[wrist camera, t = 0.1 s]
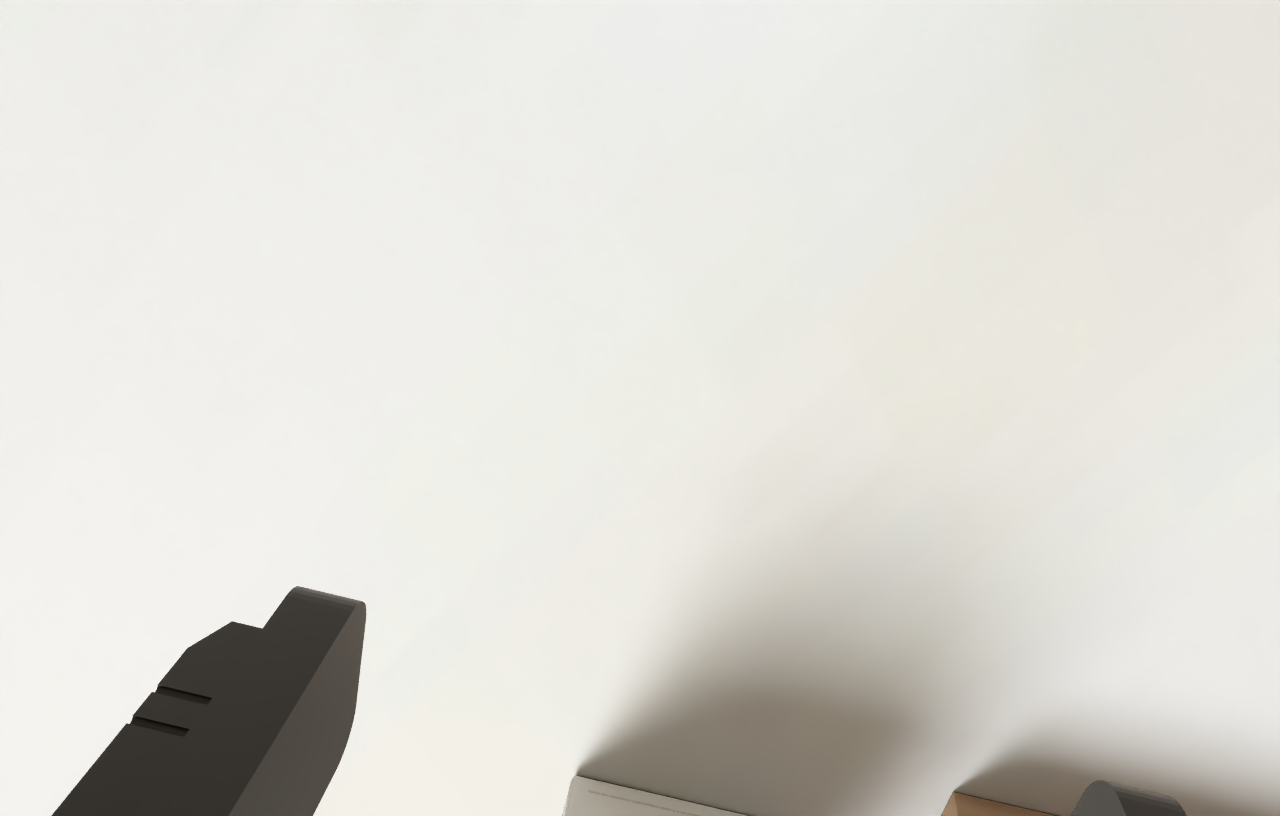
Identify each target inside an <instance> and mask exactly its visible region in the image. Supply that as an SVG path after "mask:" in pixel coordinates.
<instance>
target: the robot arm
mask: <svg viewBox="0 0 1280 816" xmlns="http://www.w3.org/2000/svg"><path fill="white" fill-rule="evenodd" d="M365 622H366V605H365V603H364V602H362V601H358V600H354V599H350V598H345V597H341V596H337V595H333V594H329V593H325V592H320V591H316V590H312V589H308V588H304V587H299V586H297V587H295V588H293V589H292V590H291V591H290V592H289V593H288V594H287V596H286V597H285V599H284V600H283V601H282V603H281V604H280V605H279V607H278V608H277V610H276V611H275V612H274V614H273V615H272V616H271V618H270V619H269V621H268V622H267V623H266V625H265V626H264V628H263V629H261V628H257V627H253V626H249V625H245V624H241V623H236V622H231V623H229V624H227V625H226V626H224V627H222V628H221V629H219V630H217V631H215V632H214V633H212V634H210V635H209V636H207V637H205V638H204V639H202V640H200V641H199V642H197V643H195V644H194V645H192V646H190V647H189V648H187V650H186V651H185V652H184V653H183V654H182V656H181V657H180V658H179V659H178V661H177V662H176V663H175V664H174V666H173V667H172V668H171V669H170V671H169V672H168V673H167V674H166V675H165V677H164V678H163V679H162V680H161V682H160V683H159V684H158V687H157V690H156V692H155V693H154V692H152V693H151V694H150V695H149V696H148V698H147V699H146V700H145V701H144V703H143V704H142V705H141V706H140V707H139V709H138V710H137V711H136V712H135V714H134V715H133V719H132V721H131V723H130V724H126V725H125V726H124V727H123V728H122V730H121V731H120V732H119V733H118V735H117V736H116V737H115V738H114V740H113V741H112V742H111V743H110V744H109V746H108V747H107V748H106V749H105V751H104V752H103V753H102V754H101V756H100V757H99V758H98V759H97V760H96V762H95V763H94V764H93V765H92V767H91V768H90V769H89V770H88V772H87V773H86V774H85V775H84V777H83V778H82V779H81V780H80V781H79V783H78V784H77V785H76V786H75V788H74V789H73V790H72V791H71V793H70V794H69V795H68V796H67V797H66V799H65V800H64V801H63V802H62V804H61V805H60V806H59V807H58V809H57V810H56V811H55V812H54V813H53V815H52V816H313V814H314V812H315V810H316V808H317V806H318V804H319V802H320V800H321V798H322V797H323V795H324V793H325V791H326V789H327V787H328V785H329V783H330V781H331V779H332V777H333V775H334V773H335V771H336V769H337V767H338V765H339V762H340V760H341V758H342V755H343V753H344V750H345V747H346V744H347V741H348V738H349V735H350V731H351V728H352V724H353V719H354V715H355V709H356V701H357V692H358V683H359V675H360V666H361V657H362V648H363V639H364V631H365ZM1071 816H1186V814H1185V812H1184V810H1183V809H1182V807H1181V806H1180V804H1179V803H1178V802H1177V801H1176V800H1174V799H1173V798H1171V797H1169V796H1165V795H1161V794H1157V793H1152V792H1148V791H1144V790H1140V789H1136V788H1132V787H1127V786H1123V785H1119V784H1115V783H1111V782H1106V781H1096V782H1094V783H1092V784H1091V785H1090V786H1089V787H1088V788H1087V789H1086V790H1085V792H1084V793H1083V795H1082V797H1081V799H1080V801H1079V802H1078V804H1077V806H1076V808H1075V810H1074V811H1073V813H1072V815H1071Z"/></svg>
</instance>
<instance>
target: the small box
mask: <svg viewBox="0 0 1280 816" xmlns="http://www.w3.org/2000/svg"><path fill="white" fill-rule="evenodd" d="M562 816H747V815H743V814H738V813H734V812H730V811H726V810H721V809H717V808H713V807H708V806H704V805H700V804H696V803H691V802H687V801H683V800H679V799H674V798H670V797H666V796H662V795H657V794H653V793H649V792H644V791H640V790H636V789H631V788H627V787H622V786H618V785H614V784H610V783H605V782H601V781H596V780H592V779H588V778H583V777H579V776H574V777H573V778H572V780H571V783H570V787H569V791H568V795H567V799H566V803H565V806H564V810H563V814H562Z"/></svg>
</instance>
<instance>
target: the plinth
mask: <svg viewBox="0 0 1280 816" xmlns="http://www.w3.org/2000/svg"><path fill="white" fill-rule="evenodd" d="M941 816H1055V815H1051V814H1046V813H1042V812H1038V811H1033V810H1029V809H1025V808H1020V807H1016V806H1012V805H1007V804H1003V803H998V802H994V801H990V800H985V799H981V798H977V797H972V796H968V795H964V794H959V793H955V792H953V794H952V796H951V798H950V800H949V802H948V804H947V806H946V808H945V809H944V811H943V813H942V815H941Z"/></svg>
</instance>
